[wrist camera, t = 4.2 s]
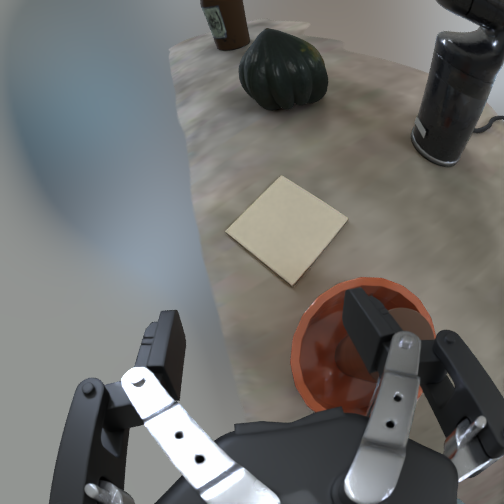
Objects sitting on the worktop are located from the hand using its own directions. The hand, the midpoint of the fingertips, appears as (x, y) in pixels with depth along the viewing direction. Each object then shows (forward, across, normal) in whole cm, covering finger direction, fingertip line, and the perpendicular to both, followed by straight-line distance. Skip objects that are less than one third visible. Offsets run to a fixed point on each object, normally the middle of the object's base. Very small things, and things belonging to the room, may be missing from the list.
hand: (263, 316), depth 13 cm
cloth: (+21, -6, +4) cm, 22 cm away
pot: (+8, -10, +14) cm, 19 cm away
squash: (+41, -11, -14) cm, 45 cm away
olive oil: (+68, -3, -36) cm, 77 cm away
